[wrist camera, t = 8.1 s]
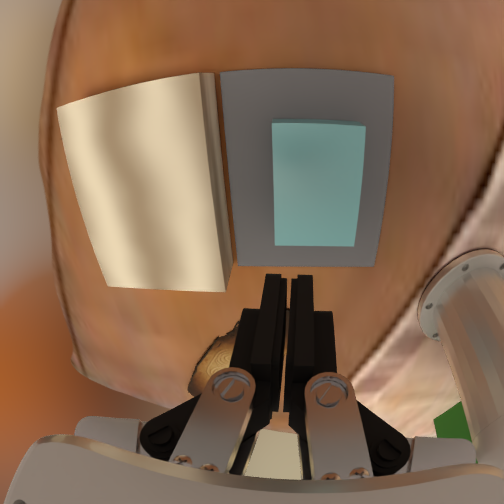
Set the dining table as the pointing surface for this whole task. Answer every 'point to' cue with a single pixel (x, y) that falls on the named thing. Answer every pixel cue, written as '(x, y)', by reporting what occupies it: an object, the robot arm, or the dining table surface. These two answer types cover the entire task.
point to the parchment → (219, 359)
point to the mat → (261, 155)
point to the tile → (317, 181)
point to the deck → (152, 183)
